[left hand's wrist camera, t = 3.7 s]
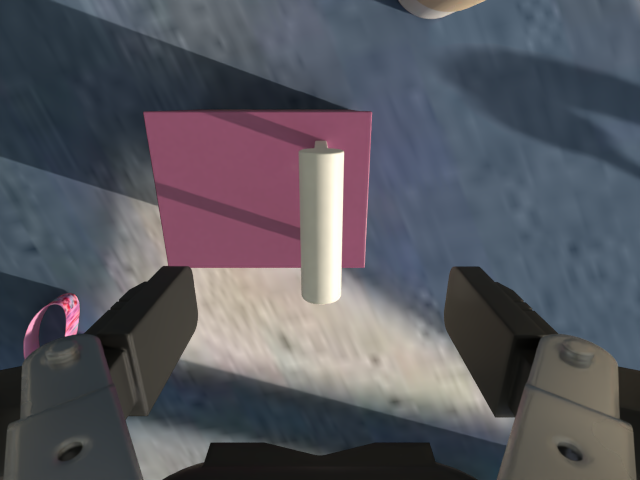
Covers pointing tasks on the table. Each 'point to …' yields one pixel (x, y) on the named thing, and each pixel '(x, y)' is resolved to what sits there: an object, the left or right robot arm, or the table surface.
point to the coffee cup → (436, 7)
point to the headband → (32, 334)
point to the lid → (264, 191)
